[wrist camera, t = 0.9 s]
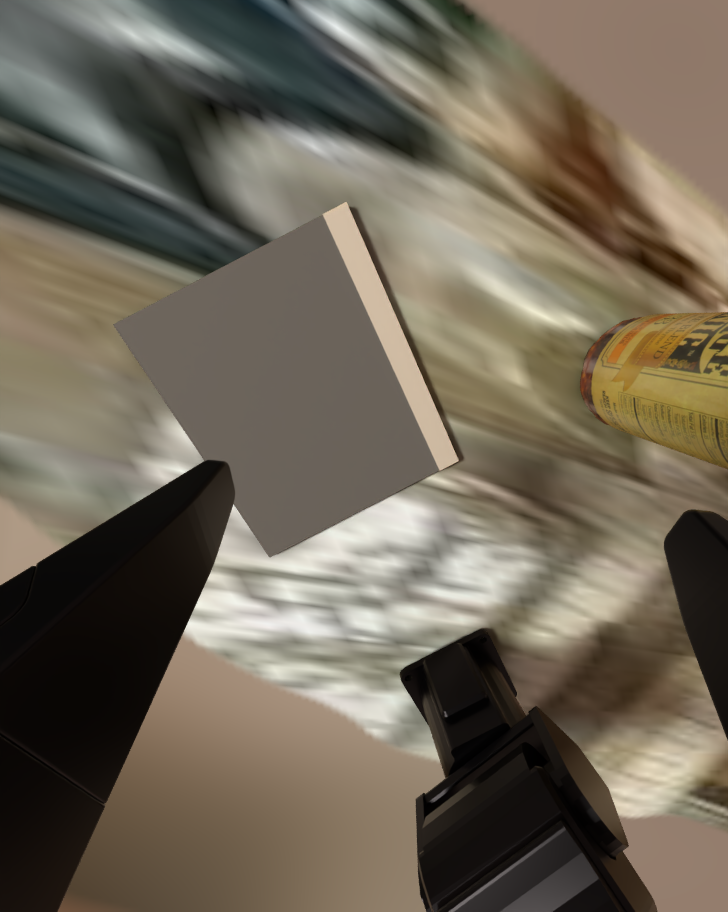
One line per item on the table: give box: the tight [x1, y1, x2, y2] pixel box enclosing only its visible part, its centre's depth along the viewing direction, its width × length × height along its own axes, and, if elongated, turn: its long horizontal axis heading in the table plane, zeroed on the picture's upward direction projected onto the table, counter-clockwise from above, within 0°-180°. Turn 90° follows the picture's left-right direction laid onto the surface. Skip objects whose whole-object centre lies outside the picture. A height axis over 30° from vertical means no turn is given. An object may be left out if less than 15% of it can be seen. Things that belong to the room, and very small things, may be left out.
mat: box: [113, 202, 459, 557], centre depth 21 cm, size 14×12×1 cm
